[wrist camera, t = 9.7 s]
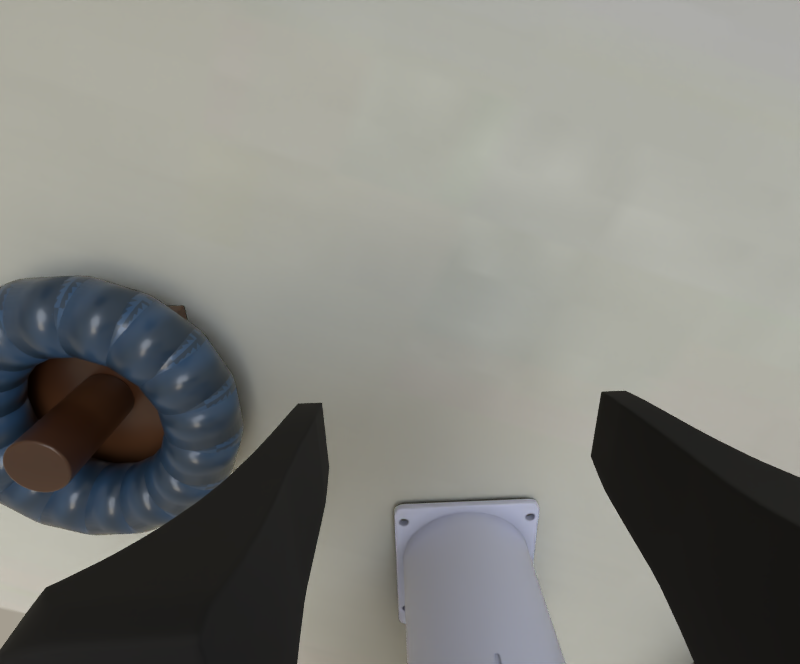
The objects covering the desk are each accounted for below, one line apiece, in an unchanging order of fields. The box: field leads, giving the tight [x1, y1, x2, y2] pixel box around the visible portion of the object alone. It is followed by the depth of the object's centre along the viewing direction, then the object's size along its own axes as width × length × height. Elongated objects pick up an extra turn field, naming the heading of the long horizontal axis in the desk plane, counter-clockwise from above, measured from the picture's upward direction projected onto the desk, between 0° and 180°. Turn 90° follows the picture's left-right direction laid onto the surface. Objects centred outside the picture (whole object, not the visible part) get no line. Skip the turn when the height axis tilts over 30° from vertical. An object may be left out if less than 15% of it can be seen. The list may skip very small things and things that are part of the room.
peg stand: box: [3, 305, 187, 492], centre depth 20 cm, size 8×8×6 cm
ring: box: [0, 276, 243, 535], centre depth 21 cm, size 12×12×3 cm
